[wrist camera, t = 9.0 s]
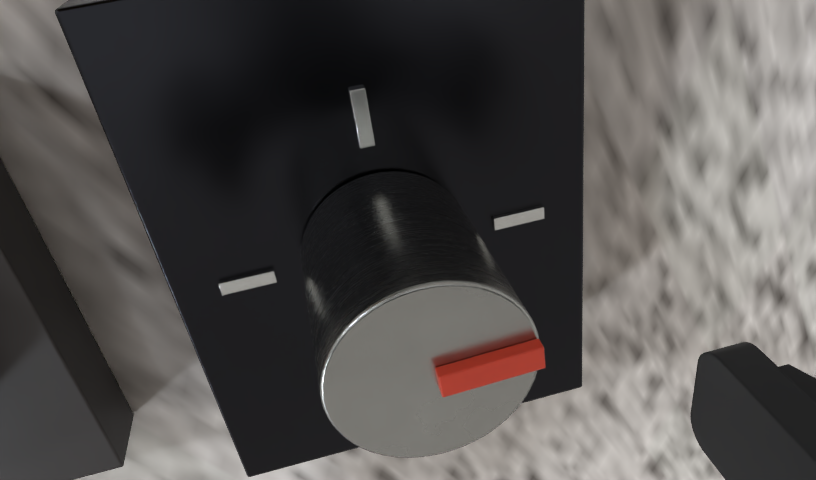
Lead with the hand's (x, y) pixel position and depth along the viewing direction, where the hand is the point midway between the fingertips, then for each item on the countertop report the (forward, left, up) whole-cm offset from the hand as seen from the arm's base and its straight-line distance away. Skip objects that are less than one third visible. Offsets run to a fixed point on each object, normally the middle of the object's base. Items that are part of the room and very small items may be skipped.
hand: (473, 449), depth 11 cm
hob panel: (0, 0, -10) cm, 10 cm away
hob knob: (0, 0, -7) cm, 7 cm away
